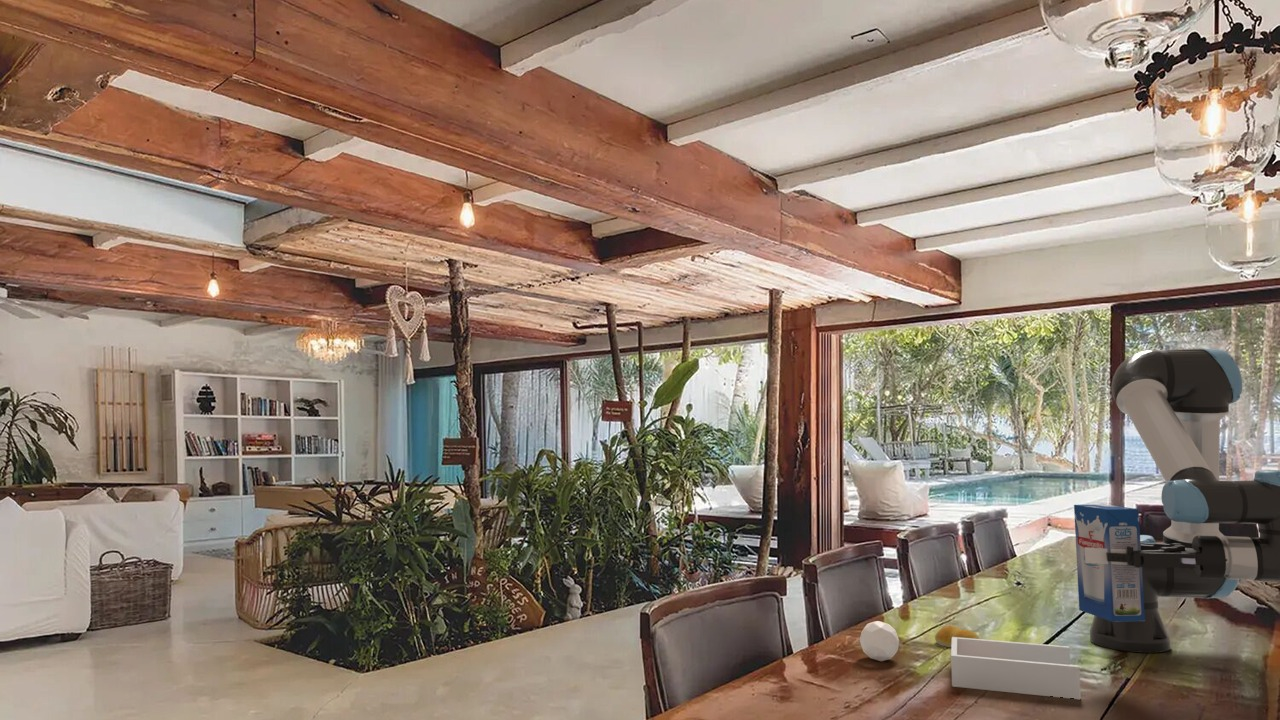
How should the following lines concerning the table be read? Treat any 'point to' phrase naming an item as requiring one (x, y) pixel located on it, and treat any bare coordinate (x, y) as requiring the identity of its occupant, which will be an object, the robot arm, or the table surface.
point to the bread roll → (952, 635)
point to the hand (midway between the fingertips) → (1081, 551)
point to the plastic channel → (1014, 667)
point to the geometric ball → (879, 641)
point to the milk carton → (1108, 585)
